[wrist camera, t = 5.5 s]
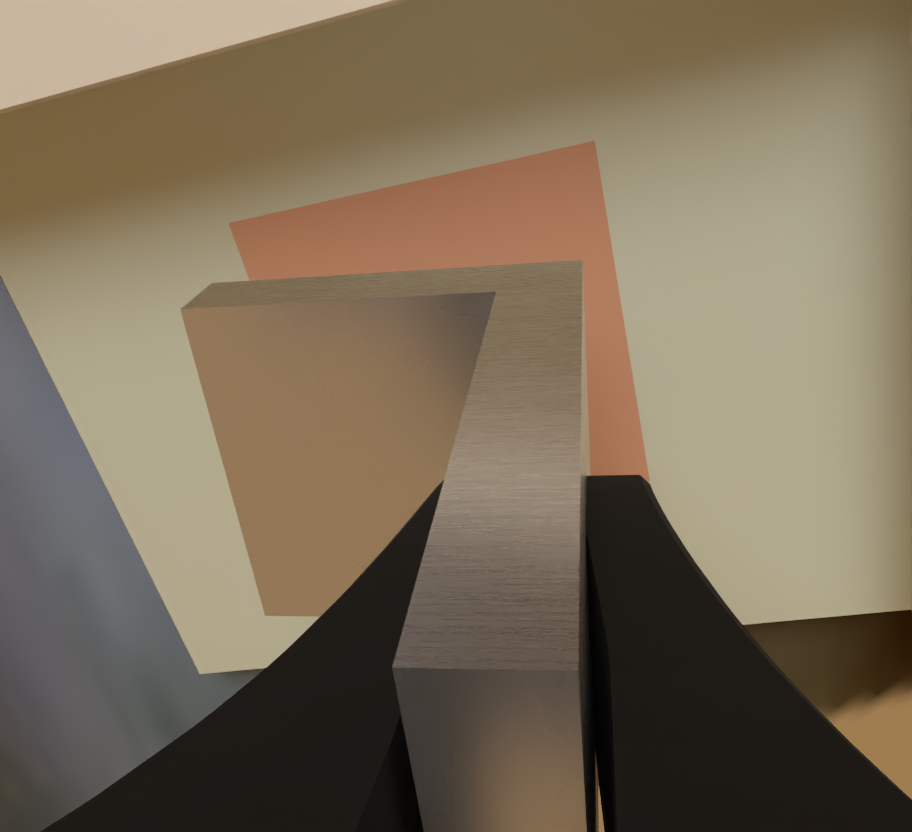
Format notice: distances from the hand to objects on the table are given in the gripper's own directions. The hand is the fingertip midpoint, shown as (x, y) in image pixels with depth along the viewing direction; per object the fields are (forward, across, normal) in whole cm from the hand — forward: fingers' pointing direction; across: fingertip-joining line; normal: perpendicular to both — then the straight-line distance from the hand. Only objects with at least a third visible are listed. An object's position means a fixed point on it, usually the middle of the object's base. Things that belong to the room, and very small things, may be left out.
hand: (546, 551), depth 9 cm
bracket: (+3, +2, 0) cm, 3 cm away
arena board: (+7, +2, 0) cm, 7 cm away
